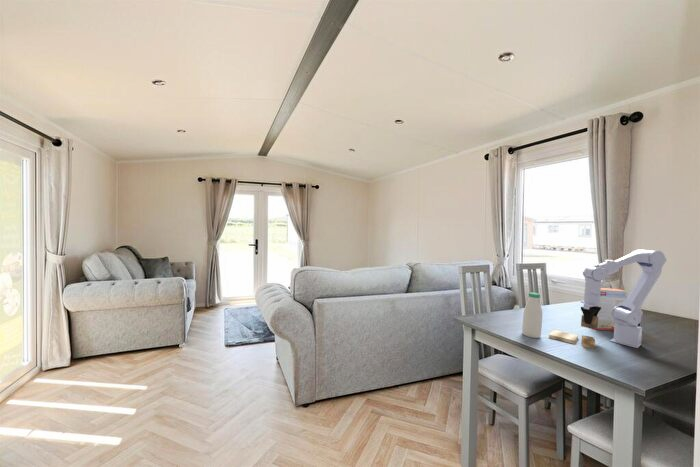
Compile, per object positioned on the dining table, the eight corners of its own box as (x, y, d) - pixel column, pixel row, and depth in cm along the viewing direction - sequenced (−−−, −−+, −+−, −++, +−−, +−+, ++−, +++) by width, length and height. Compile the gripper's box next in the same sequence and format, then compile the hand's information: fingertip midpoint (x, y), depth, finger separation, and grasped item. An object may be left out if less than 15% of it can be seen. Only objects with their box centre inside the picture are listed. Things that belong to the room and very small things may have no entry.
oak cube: (592, 346, 142) (593, 337, 142) (594, 349, 138) (595, 339, 138) (581, 344, 144) (581, 335, 143) (583, 347, 140) (583, 338, 140)
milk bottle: (543, 339, 147) (546, 295, 146) (525, 337, 149) (528, 294, 148) (537, 333, 155) (540, 292, 154) (519, 331, 156) (522, 290, 155)
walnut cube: (597, 327, 148) (598, 316, 147) (594, 329, 144) (595, 318, 144) (584, 324, 151) (585, 313, 151) (580, 326, 148) (581, 315, 148)
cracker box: (615, 328, 170) (618, 288, 169) (624, 331, 164) (627, 291, 163) (587, 325, 171) (590, 286, 170) (594, 329, 165) (597, 289, 164)
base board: (577, 338, 150) (578, 335, 150) (574, 344, 143) (575, 340, 143) (552, 332, 157) (553, 329, 157) (548, 337, 150) (549, 334, 150)
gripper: (587, 289, 155) (584, 317, 155) (576, 293, 146) (574, 322, 146) (605, 292, 149) (602, 321, 150) (595, 296, 140) (592, 327, 141)
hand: (589, 322), depth 148 cm, fingers closed on walnut cube, 5 cm apart
